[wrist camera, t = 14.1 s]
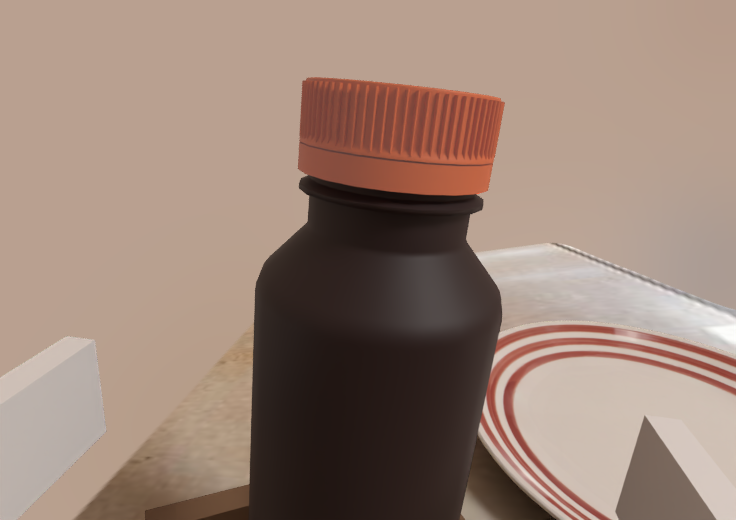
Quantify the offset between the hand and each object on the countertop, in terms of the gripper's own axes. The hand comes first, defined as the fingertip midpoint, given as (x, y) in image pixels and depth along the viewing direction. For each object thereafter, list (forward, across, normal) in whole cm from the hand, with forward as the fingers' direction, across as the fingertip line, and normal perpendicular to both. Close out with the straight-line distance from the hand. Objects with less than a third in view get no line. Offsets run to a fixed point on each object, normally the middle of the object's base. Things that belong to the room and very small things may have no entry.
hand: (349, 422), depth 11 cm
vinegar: (+3, 0, -12) cm, 13 cm away
